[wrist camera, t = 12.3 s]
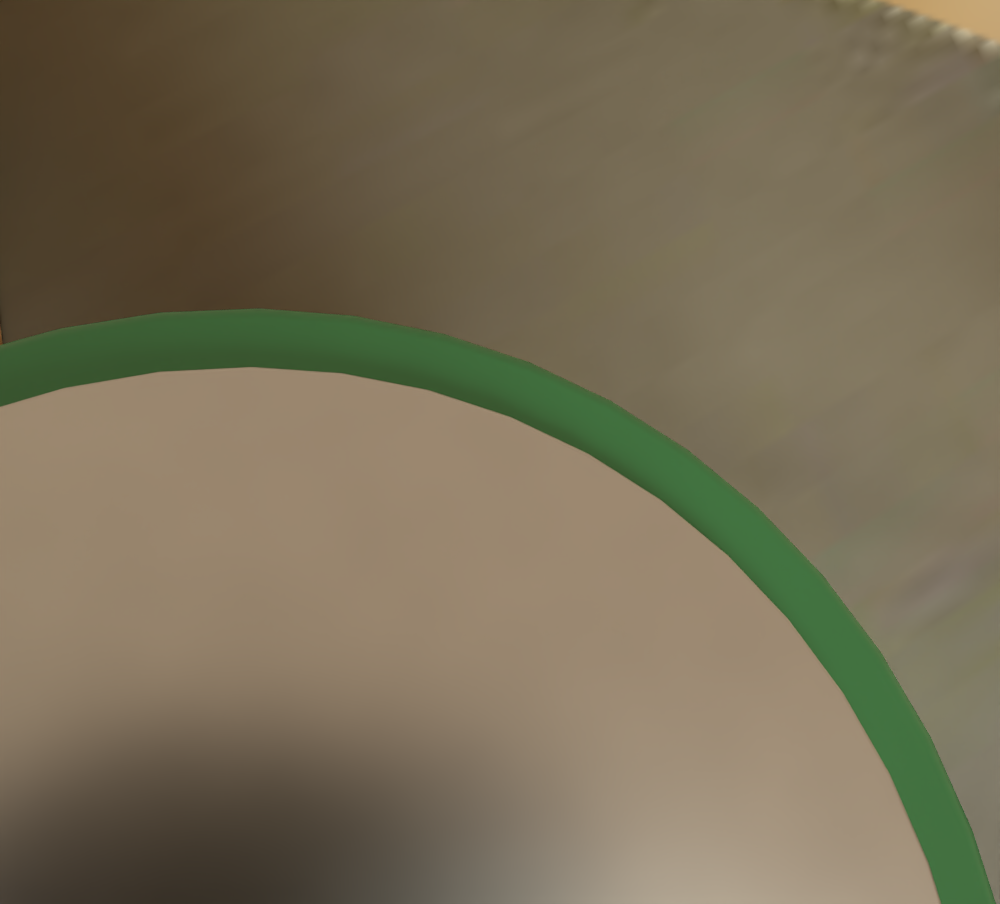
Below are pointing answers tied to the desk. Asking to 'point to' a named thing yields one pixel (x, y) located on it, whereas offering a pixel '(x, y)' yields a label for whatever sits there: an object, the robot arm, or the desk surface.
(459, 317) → the desk surface
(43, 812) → the can
